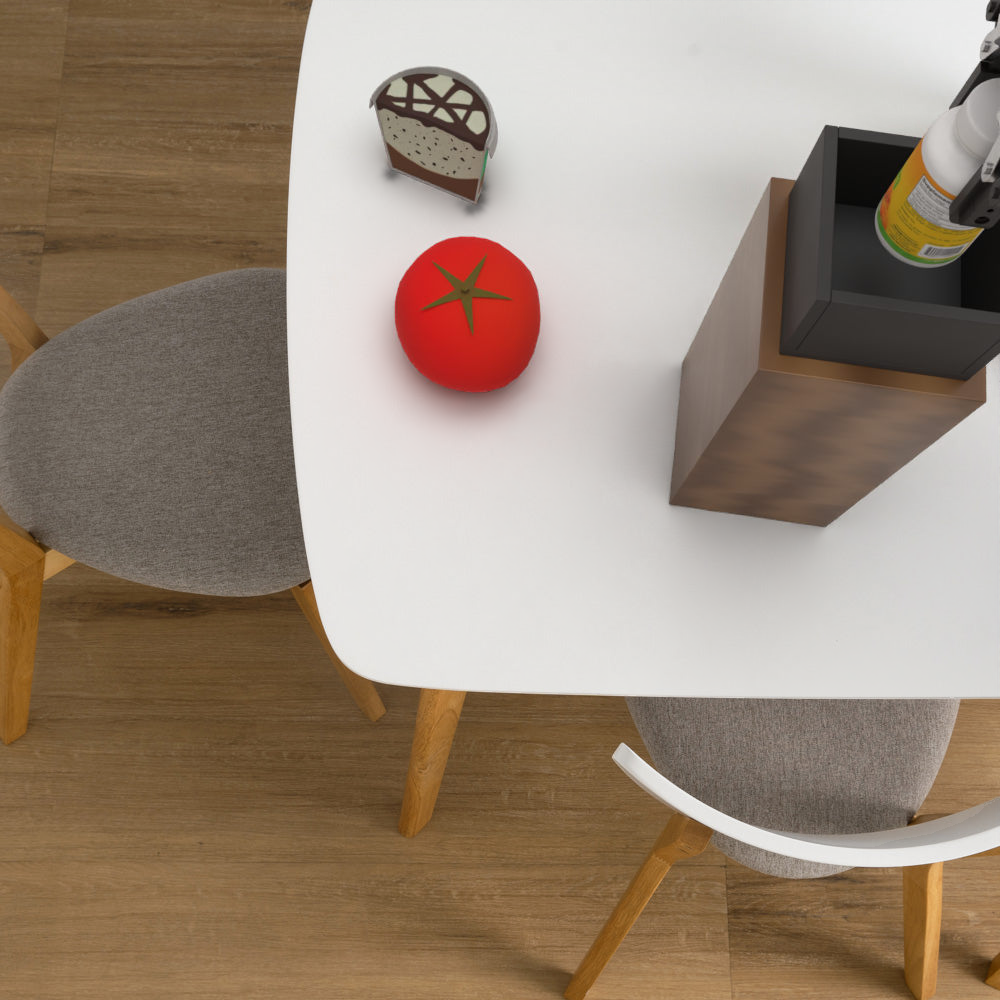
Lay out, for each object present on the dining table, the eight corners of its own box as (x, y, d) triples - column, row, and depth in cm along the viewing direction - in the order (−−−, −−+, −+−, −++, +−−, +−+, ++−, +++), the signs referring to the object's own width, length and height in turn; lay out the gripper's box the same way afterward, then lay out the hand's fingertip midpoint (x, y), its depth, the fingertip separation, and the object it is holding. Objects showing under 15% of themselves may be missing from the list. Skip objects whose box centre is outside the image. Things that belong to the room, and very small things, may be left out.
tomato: (393, 279, 92) (383, 215, 82) (527, 269, 92) (534, 204, 82) (404, 418, 87) (395, 369, 77) (544, 407, 88) (554, 356, 78)
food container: (516, 162, 96) (521, 91, 86) (490, 210, 94) (492, 143, 84) (404, 116, 97) (397, 41, 88) (376, 163, 95) (366, 92, 86)
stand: (831, 384, 90) (985, 205, 63) (825, 527, 85) (987, 402, 59) (682, 362, 90) (771, 176, 63) (668, 504, 86) (758, 369, 59)
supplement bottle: (911, 171, 56) (997, 44, 46) (986, 230, 55) (1090, 112, 45) (852, 227, 54) (929, 109, 45) (928, 288, 53) (1022, 180, 44)
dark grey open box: (966, 219, 62) (1024, 151, 56) (967, 381, 59) (1028, 329, 53) (788, 194, 63) (825, 123, 56) (778, 354, 59) (816, 299, 53)
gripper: (1339, 41, 31) (1044, 302, 47) (1291, -274, 35) (1036, 65, 51) (1105, 10, 31) (891, 282, 47) (1085, -299, 35) (895, 46, 52)
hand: (967, 167), depth 49 cm, fingers closed on supplement bottle, 5 cm apart
